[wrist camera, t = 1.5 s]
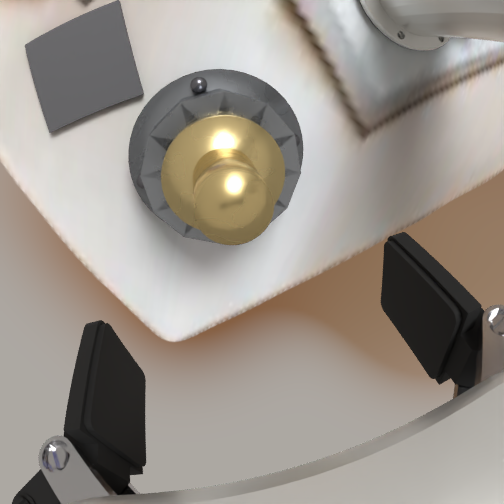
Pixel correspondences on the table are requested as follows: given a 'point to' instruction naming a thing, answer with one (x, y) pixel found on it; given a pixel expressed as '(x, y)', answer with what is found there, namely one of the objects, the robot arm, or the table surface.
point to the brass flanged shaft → (224, 177)
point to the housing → (199, 106)
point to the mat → (83, 66)
